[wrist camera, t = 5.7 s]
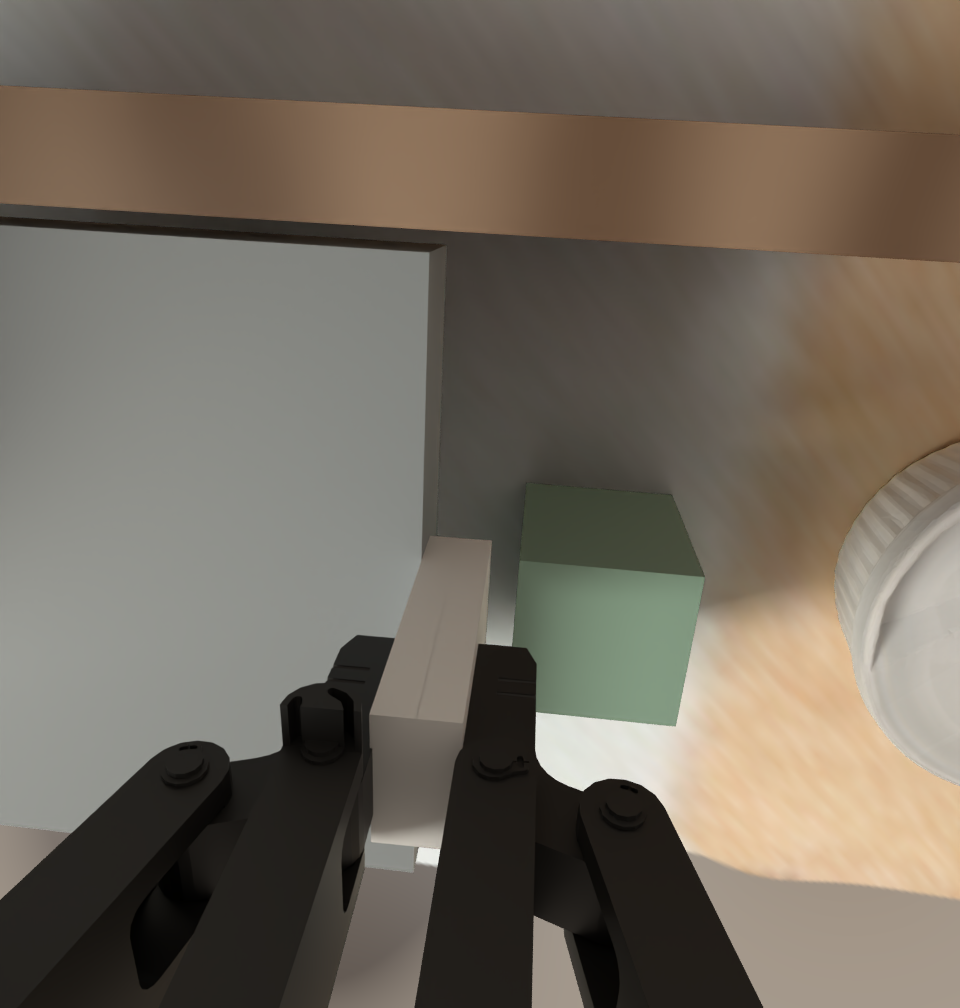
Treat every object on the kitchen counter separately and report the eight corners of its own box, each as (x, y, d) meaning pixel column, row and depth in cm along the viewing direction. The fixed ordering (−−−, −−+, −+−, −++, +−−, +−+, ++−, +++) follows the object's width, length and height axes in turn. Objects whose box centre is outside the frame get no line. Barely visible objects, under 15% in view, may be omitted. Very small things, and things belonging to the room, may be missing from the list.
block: (515, 606, 28) (507, 708, 22) (526, 482, 26) (519, 560, 20) (650, 619, 27) (675, 726, 22) (671, 494, 25) (705, 577, 20)
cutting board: (86, 193, 23) (-198, 190, 14) (76, 121, 22) (-230, 73, 14) (1013, 249, 21) (1333, 285, 13) (1037, 174, 21) (1395, 157, 12)
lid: (47, 761, 23) (-8, 823, 21) (-76, 211, 17) (-175, 214, 14) (427, 802, 22) (413, 872, 20) (446, 244, 16) (429, 252, 14)
